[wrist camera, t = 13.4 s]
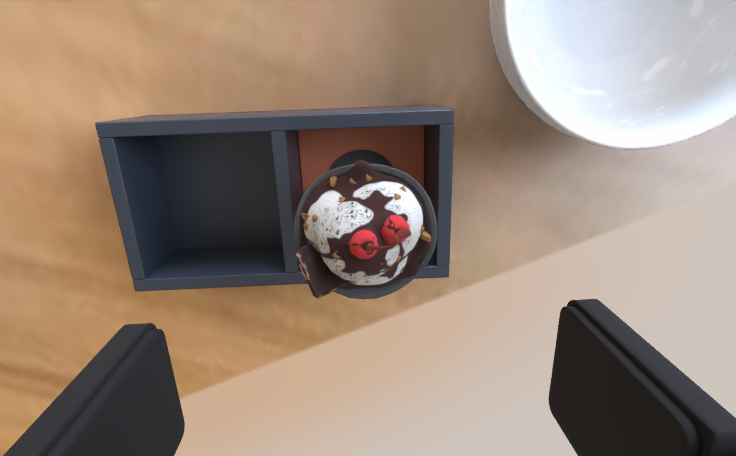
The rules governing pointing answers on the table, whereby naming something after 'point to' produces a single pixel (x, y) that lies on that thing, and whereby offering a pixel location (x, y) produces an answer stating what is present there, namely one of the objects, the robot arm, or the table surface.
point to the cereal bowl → (621, 66)
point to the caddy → (254, 186)
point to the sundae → (363, 228)
